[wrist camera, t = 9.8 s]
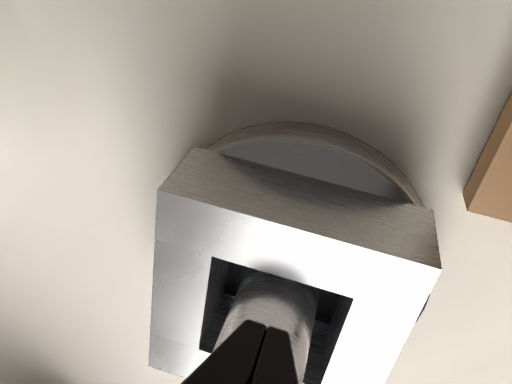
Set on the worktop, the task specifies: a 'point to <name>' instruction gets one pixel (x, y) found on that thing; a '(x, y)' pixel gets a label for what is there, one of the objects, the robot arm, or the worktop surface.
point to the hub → (315, 166)
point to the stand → (493, 172)
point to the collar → (287, 262)
